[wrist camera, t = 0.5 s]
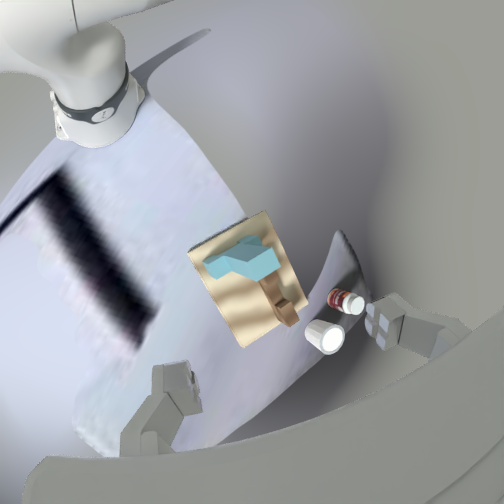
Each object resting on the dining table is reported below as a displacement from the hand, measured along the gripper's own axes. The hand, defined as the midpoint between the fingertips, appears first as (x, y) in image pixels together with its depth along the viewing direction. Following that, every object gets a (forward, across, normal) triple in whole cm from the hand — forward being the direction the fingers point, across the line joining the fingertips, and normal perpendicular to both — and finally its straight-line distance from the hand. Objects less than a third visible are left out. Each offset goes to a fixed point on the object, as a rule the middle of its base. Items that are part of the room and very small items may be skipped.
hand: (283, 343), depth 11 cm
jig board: (+39, -4, +21) cm, 45 cm away
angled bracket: (+39, -1, +14) cm, 41 cm away
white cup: (+37, -16, +37) cm, 55 cm away
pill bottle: (+40, -23, +32) cm, 56 cm away
